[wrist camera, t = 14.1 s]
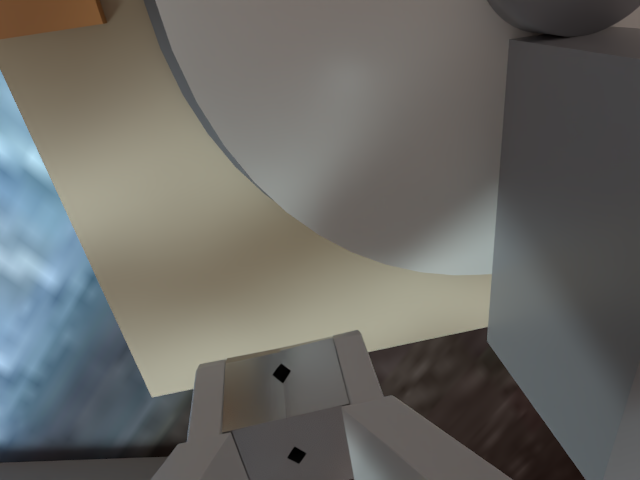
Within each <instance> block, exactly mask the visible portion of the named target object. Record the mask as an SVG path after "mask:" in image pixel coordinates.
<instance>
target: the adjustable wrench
mask: <svg viewBox="0 0 640 480" xmlns="http://www.w3.org/2000/svg"><path fill="white" fill-rule="evenodd" d="M167 458H168V457H146V458H118V459H91V460H63V461H35V462H7V463H0V480H151V479H152V477H153V476H154V475H155V473H156V472H157V471H158V469H159V468H160V467H161V466H162V464H163V463H164V462H165V460H166V459H167Z"/></svg>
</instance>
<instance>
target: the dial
mask: <svg viewBox="0 0 640 480" xmlns="http://www.w3.org/2000/svg"><path fill="white" fill-rule="evenodd" d="M155 1H156V4H157V7H158V10H159V13H160V16H161V19H162V22H163V25H164V28H165V31H166V34H167V37H168V40H169V43H170V45H171V48H172V51H173V53H174V55H175V57H176V60H177V62H178V64H179V66H180V68H181V70H182V72H183V74H184V76H185V79H186V81H187V83H188V85H189V87H190V89H191V91H192V93H193V95H194V97H195V100H196V102H197V103H198V105H199V107H200V108H201V110H202V111H203V113H204V115H205V116H206V118H207V119H208V121H209V122H210V124H211V126H212V127H213V129H214V130H215V132H216V134H217V135H218V137H219V138H220V140H221V141H222V143H223V145H224V146H225V147H226V149H227V150H228V151H229V152H230V153H231V155H232V156H233V157H234V158H235V159H236V161H237V162H238V163H239V164H240V166H241V167H242V168H243V169H244V170H245V172H246V173H247V174H248V175H249V176H250V178H251V179H252V180H253V181H254V182H255V183H256V184H257V185H258V186H259V187H260V188H261V189H262V190H263V191H264V192H265V193H266V194H267V195H269V196H270V197H271V198H272V199H273V200H274V201H275V202H276V203H277V204H278V205H279V206H280V207H281V208H282V209H284V210H285V211H286V212H287V213H288V214H290V215H291V216H293V217H294V218H295V219H297V220H298V221H300V222H301V223H303V224H304V225H305V226H307V227H308V228H310V229H311V230H312V231H314V232H315V233H317V234H318V235H320V236H322V237H324V238H326V239H327V240H329V241H331V242H333V243H335V244H337V245H339V246H341V247H343V248H345V249H347V250H348V251H350V252H352V253H355V254H358V255H361V256H363V257H366V258H369V259H372V260H374V261H377V262H380V263H383V264H386V265H390V266H394V267H399V268H403V269H408V270H412V271H417V272H423V273H434V274H445V275H484V274H492V280H491V293H490V307H489V321H488V334H487V342H488V343H489V345H490V346H491V348H492V349H493V350H494V352H495V353H496V355H497V356H498V357H499V359H500V360H501V362H502V363H503V364H504V366H505V367H506V369H507V370H508V371H509V373H510V374H511V376H512V377H513V378H514V380H515V381H516V383H517V384H518V385H519V387H520V388H521V390H522V391H523V392H524V394H525V395H526V397H527V398H528V399H529V401H530V402H531V404H532V405H533V406H534V408H535V409H536V411H537V412H538V413H539V415H540V416H541V418H542V419H543V420H544V422H545V423H546V425H547V426H548V427H549V429H550V430H551V432H552V433H553V435H554V436H555V437H556V439H557V440H558V442H559V443H560V444H561V446H562V447H563V449H564V450H565V451H566V453H567V454H568V456H569V457H570V458H571V460H572V461H573V463H574V464H575V465H576V467H577V468H578V470H579V471H580V472H581V474H582V475H583V477H584V478H585V479H586V480H640V0H155Z"/></svg>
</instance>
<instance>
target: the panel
mask: <svg viewBox="0 0 640 480" xmlns="http://www.w3.org/2000/svg"><path fill="white" fill-rule="evenodd" d="M0 70H1V72H2V74H3V76H4V78H5V80H6V83H7V85H8V87H9V89H10V91H11V93H12V96H13V98H14V100H15V102H16V104H17V106H18V109H19V111H20V113H21V115H22V117H23V119H24V122H25V124H26V126H27V128H28V130H29V132H30V134H31V137H32V139H33V141H34V143H35V145H36V147H37V150H38V152H39V154H40V156H41V158H42V160H43V163H44V165H45V167H46V169H47V171H48V173H49V176H50V178H51V180H52V182H53V184H54V186H55V189H56V191H57V193H58V195H59V197H60V199H61V202H62V204H63V206H64V208H65V210H66V212H67V215H68V217H69V219H70V221H71V223H72V225H73V228H74V230H75V232H76V234H77V236H78V238H79V241H80V243H81V245H82V247H83V249H84V251H85V254H86V256H87V258H88V260H89V262H90V264H91V267H92V269H93V271H94V273H95V275H96V277H97V280H98V282H99V284H100V286H101V288H102V290H103V293H104V295H105V297H106V299H107V301H108V303H109V306H110V308H111V310H112V312H113V314H114V316H115V319H116V321H117V323H118V325H119V327H120V329H121V331H122V334H123V336H124V338H125V340H126V342H127V344H128V347H129V349H130V351H131V353H132V355H133V357H134V360H135V362H136V364H137V366H138V368H139V370H140V373H141V375H142V377H143V379H144V381H145V383H146V386H147V388H148V390H149V392H150V394H151V396H152V397H157V396H161V395H166V394H171V393H176V392H180V391H185V390H190V389H194V382H195V374H196V370H197V368H198V366H199V364H203V363H208V362H214V361H219V360H224V359H227V358H231V357H236V356H242V355H247V354H252V353H257V352H262V351H267V350H272V349H278V348H282V347H286V346H291V345H295V344H300V343H304V342H308V341H313V340H317V339H322V338H326V337H330V336H331V337H332V336H333V335H337V334H341V333H346V332H350V331H354V330H359V331H360V332H361V334H362V337H363V340H364V343H365V346H366V348H367V351H368V352H370V351H375V350H380V349H385V348H389V347H394V346H399V345H404V344H408V343H413V342H418V341H423V340H427V339H432V338H437V337H442V336H446V335H451V334H456V333H461V332H465V331H470V330H475V329H480V328H484V327H488V321H489V307H490V293H491V280H492V274H484V275H445V274H434V273H423V272H417V271H412V270H408V269H403V268H399V267H394V266H390V265H386V264H383V263H380V262H377V261H374V260H372V259H369V258H366V257H363V256H361V255H358V254H355V253H352V252H350V251H348V250H347V249H345V248H343V247H341V246H339V245H337V244H335V243H333V242H331V241H329V240H327V239H326V238H324V237H322V236H320V235H318V234H317V233H315V232H314V231H312V230H311V229H310V228H308V227H307V226H305V225H304V224H303V223H301V222H300V221H298V220H297V219H295V218H294V217H293V216H291V215H290V214H288V213H287V212H286V211H285V210H284V209H282V208H281V207H280V206H279V205H278V204H277V203H276V202H275V201H274V200H273V199H272V198H271V197H270V196H269V195H267V194H266V193H265V192H264V191H263V190H262V189H261V188H260V187H259V186H258V185H257V184H256V183H255V182H254V181H253V180H252V179H251V178H250V176H249V175H248V174H247V173H246V172H245V170H244V169H243V168H242V167H241V166H240V164H239V163H238V162H237V161H236V159H235V158H234V157H233V156H232V155H231V153H230V152H229V151H228V150H227V149H226V147H225V146H224V145H223V143H222V141H221V140H220V138H219V137H218V135H217V134H216V132H215V130H214V129H213V127H212V126H211V124H210V122H209V121H208V119H207V118H206V116H205V115H204V113H203V111H202V110H201V108H200V107H199V105H198V103H197V102H196V100H195V97H194V95H193V93H192V91H191V89H190V87H189V85H188V83H187V81H186V79H185V76H184V74H183V72H182V70H181V68H180V66H179V64H178V62H177V60H176V57H175V55H174V53H173V51H172V48H171V45H170V43H169V40H168V37H167V34H166V31H165V28H164V25H163V22H162V19H161V16H160V13H159V10H158V7H157V4H156V1H155V0H0Z"/></svg>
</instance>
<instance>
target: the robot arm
mask: <svg viewBox="0 0 640 480" xmlns="http://www.w3.org/2000/svg"><path fill="white" fill-rule="evenodd" d="M353 478H354V480H512V479H511V478H510V477H508V476H507V475H505V474H504V473H502V472H501V471H500V470H498V469H497V468H495V467H494V466H492V465H491V464H490V463H488V462H487V461H485V460H484V459H483V458H481V457H480V456H478V455H477V454H475V453H474V452H473V451H471V450H470V449H468V448H467V447H465V446H464V445H463V444H461V443H460V442H458V441H457V440H455V439H454V438H453V437H451V436H450V435H448V434H447V433H445V432H444V431H443V430H441V429H440V428H438V427H437V426H435V425H434V424H433V423H431V422H430V421H428V420H427V419H425V418H424V417H423V416H421V415H420V414H418V413H417V412H415V411H414V410H413V409H411V408H410V407H408V406H407V405H406V404H404V403H403V402H401V401H400V400H398V399H397V398H396V397H394V396H393V395H391V396H386V397H384V396H383V393H382V390H381V387H380V385H379V382H378V379H377V376H376V374H375V371H374V368H373V365H372V362H371V360H370V357H369V354H368V351H367V348H366V346H365V343H364V340H363V337H362V334H361V332H360V331H359V330H354V331H350V332H346V333H341V334H337V335H333V336H332V337H331V336H330V337H326V338H322V339H317V340H313V341H308V342H304V343H300V344H295V345H291V346H286V347H282V348H278V349H272V350H267V351H262V352H257V353H252V354H247V355H242V356H236V357H231V358H227V359H224V360H219V361H214V362H208V363H203V364H199V366H198V368H197V370H196V374H195V382H194V389H193V397H192V405H191V413H190V420H189V428H188V436H187V442H185V443H181V444H178V445H177V446H176V447H175V449H174V450H173V451H172V453H171V454H170V455H169V456H168V458H167V459H166V460H165V462H164V463H163V464H162V466H161V467H160V468H159V469H158V471H157V472H156V473H155V475H154V476H153V477H152V479H151V480H348V479H353Z"/></svg>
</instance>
